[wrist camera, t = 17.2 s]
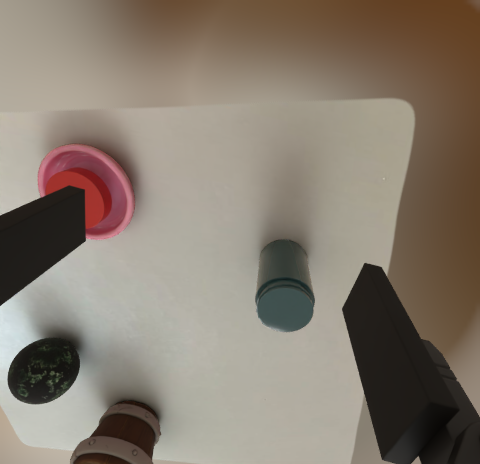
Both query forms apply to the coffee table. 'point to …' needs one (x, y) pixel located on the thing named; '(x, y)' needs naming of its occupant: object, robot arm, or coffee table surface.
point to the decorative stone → (43, 371)
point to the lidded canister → (284, 287)
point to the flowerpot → (121, 437)
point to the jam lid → (95, 192)
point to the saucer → (106, 171)
